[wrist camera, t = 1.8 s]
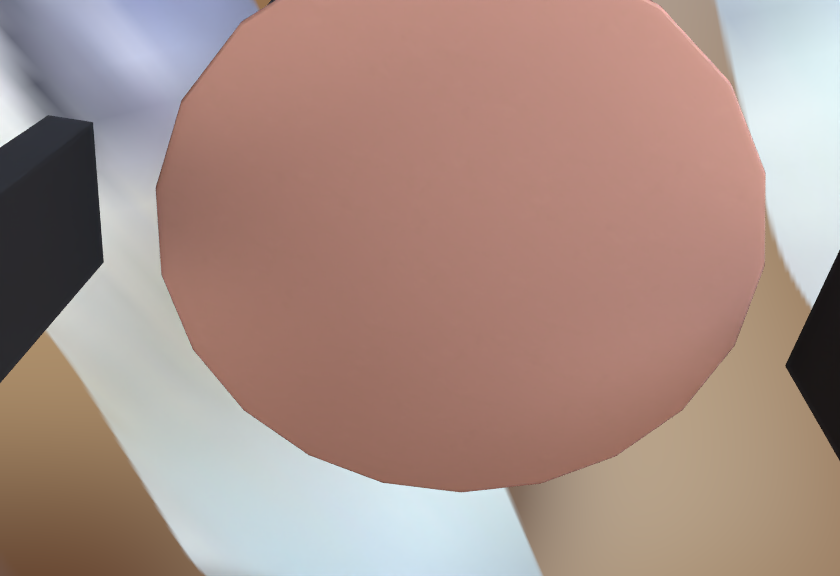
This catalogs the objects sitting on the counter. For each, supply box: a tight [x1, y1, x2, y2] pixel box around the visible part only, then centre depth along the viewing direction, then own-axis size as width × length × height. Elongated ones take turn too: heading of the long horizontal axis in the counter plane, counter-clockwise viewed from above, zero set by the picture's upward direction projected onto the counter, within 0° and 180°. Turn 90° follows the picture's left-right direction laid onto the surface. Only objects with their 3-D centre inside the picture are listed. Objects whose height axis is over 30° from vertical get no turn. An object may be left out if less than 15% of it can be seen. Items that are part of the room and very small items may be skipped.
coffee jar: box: [156, 0, 765, 492], centre depth 21 cm, size 11×11×18 cm
